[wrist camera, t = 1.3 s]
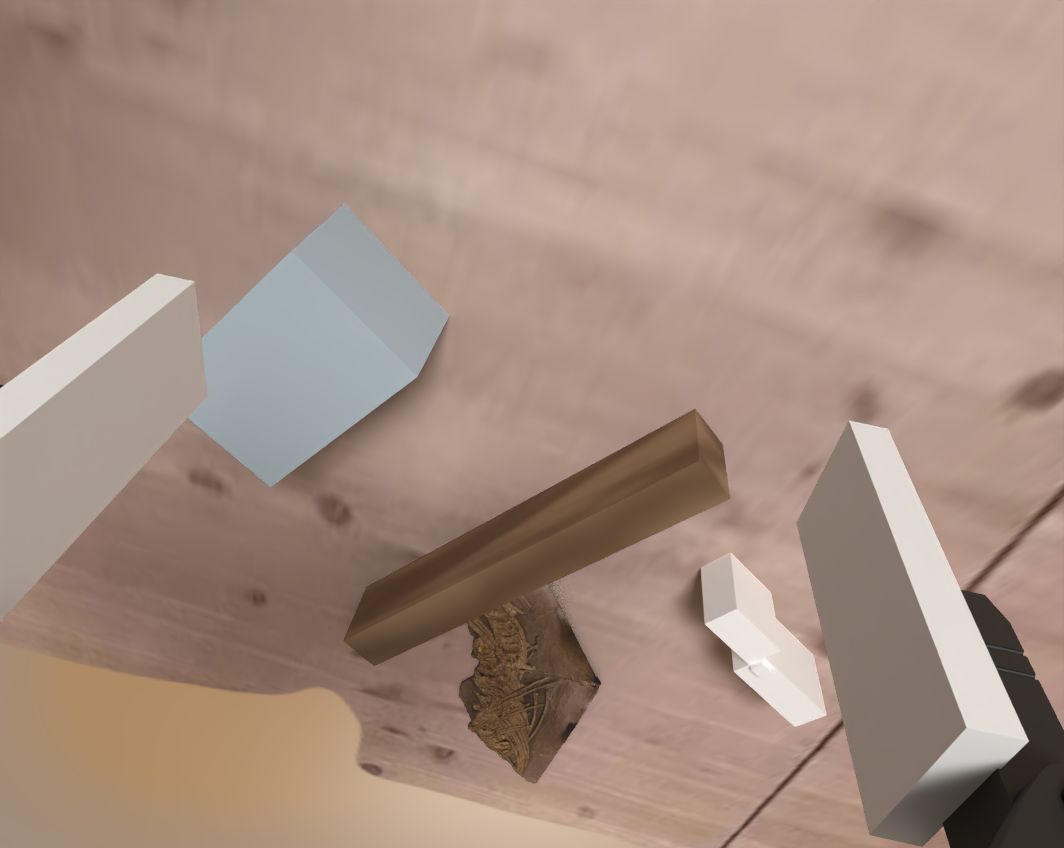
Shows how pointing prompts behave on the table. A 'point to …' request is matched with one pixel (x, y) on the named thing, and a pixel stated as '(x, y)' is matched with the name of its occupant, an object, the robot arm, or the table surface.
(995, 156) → the table surface
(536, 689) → the wooden fragment
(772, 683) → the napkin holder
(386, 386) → the block
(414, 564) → the stop board
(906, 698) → the robot arm
